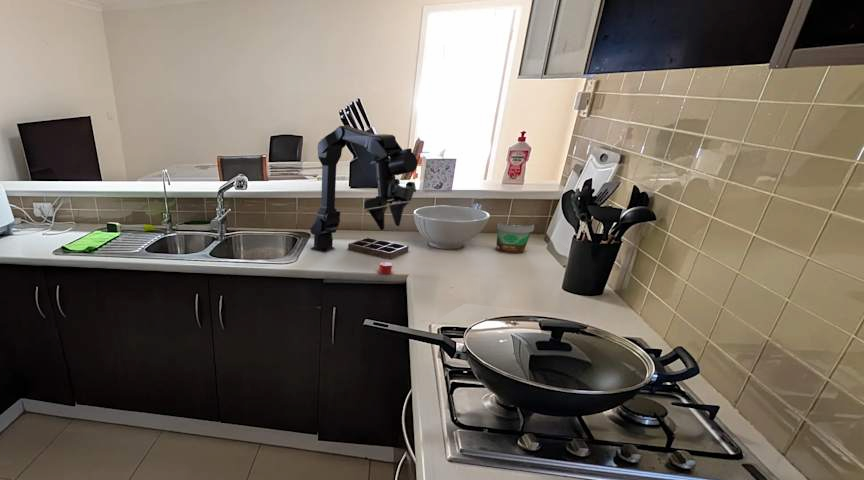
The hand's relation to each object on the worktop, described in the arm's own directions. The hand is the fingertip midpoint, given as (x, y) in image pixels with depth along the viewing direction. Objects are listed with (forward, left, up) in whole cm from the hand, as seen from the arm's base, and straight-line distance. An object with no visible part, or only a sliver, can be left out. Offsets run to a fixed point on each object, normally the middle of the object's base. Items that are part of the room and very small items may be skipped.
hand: (390, 227), depth 162 cm
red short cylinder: (+1, -1, -15) cm, 15 cm away
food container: (+22, +49, -15) cm, 55 cm away
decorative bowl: (0, +43, -15) cm, 45 cm away
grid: (-15, +19, -15) cm, 28 cm away
